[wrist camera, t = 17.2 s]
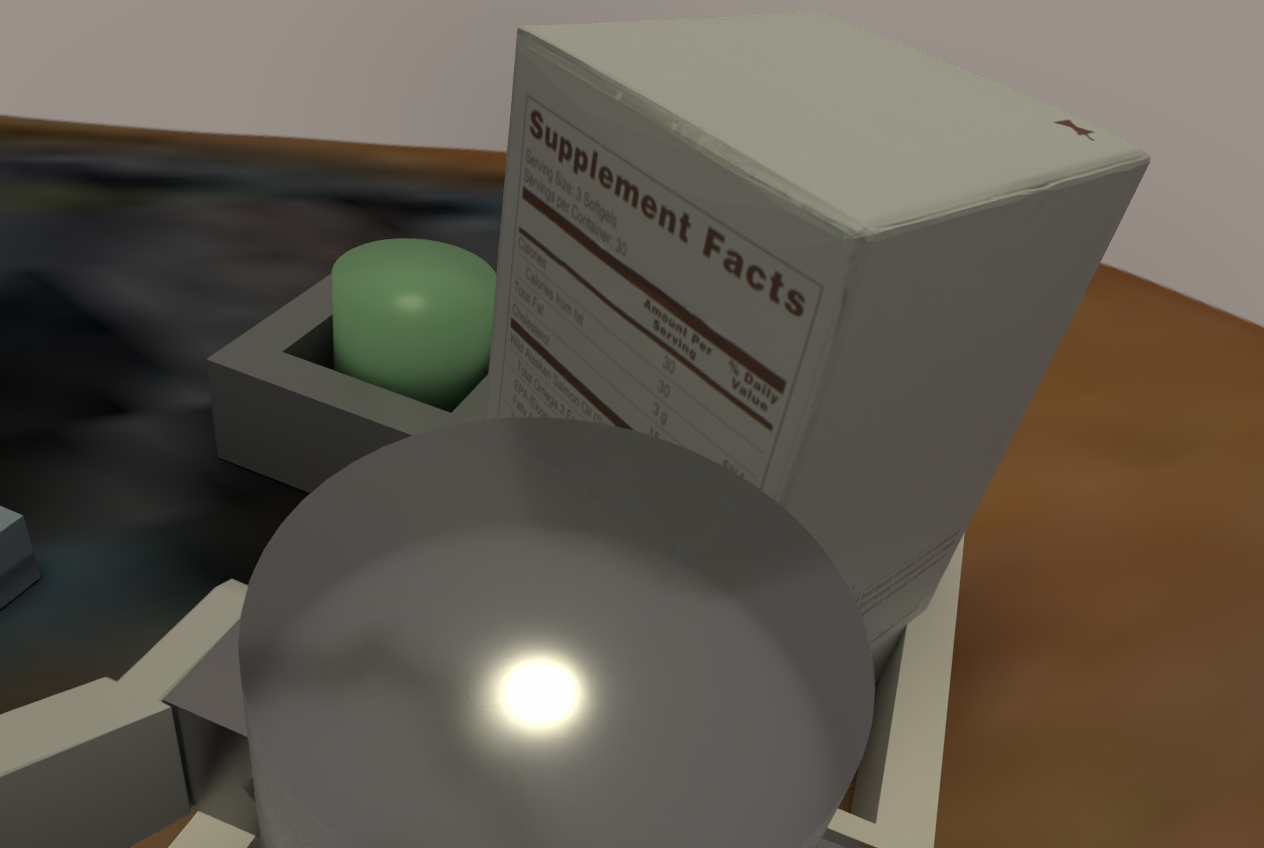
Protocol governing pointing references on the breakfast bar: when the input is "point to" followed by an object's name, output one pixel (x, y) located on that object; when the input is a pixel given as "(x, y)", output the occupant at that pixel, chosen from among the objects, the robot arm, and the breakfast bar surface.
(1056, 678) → the breakfast bar surface
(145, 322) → the breakfast bar surface
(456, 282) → the button
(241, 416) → the button housing
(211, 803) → the robot arm
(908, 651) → the white open frame
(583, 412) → the supplement box
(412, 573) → the cylinder
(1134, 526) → the breakfast bar surface
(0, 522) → the tray
